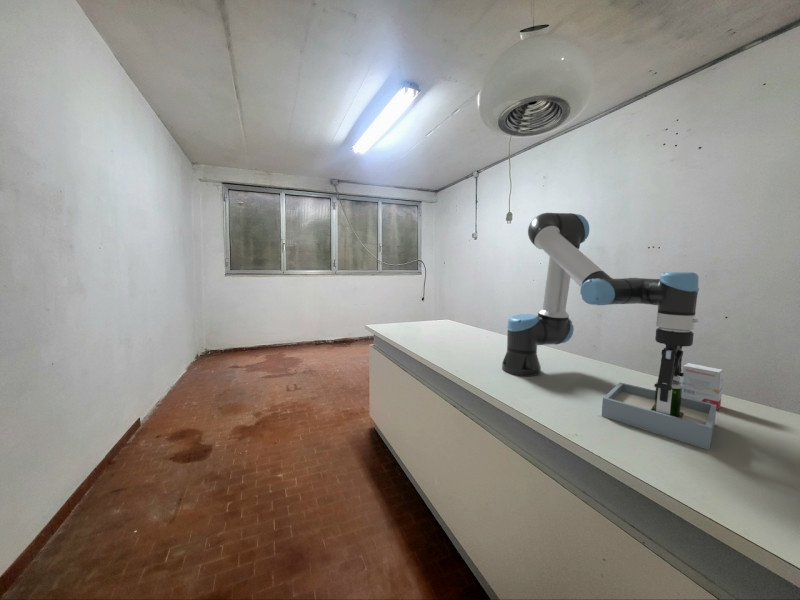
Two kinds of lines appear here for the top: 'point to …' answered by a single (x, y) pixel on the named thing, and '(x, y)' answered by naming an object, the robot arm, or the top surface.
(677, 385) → the beer can
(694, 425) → the inlet box
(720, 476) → the top surface
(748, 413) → the top surface
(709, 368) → the ink box
